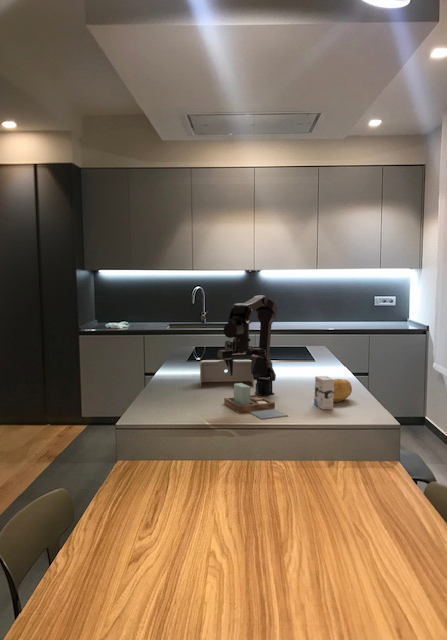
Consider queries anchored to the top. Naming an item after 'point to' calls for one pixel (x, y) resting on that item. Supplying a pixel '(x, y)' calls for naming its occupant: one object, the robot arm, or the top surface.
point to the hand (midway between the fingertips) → (241, 374)
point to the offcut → (255, 399)
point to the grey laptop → (215, 372)
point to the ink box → (324, 392)
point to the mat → (268, 413)
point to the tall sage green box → (241, 394)
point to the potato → (341, 389)
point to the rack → (250, 407)
